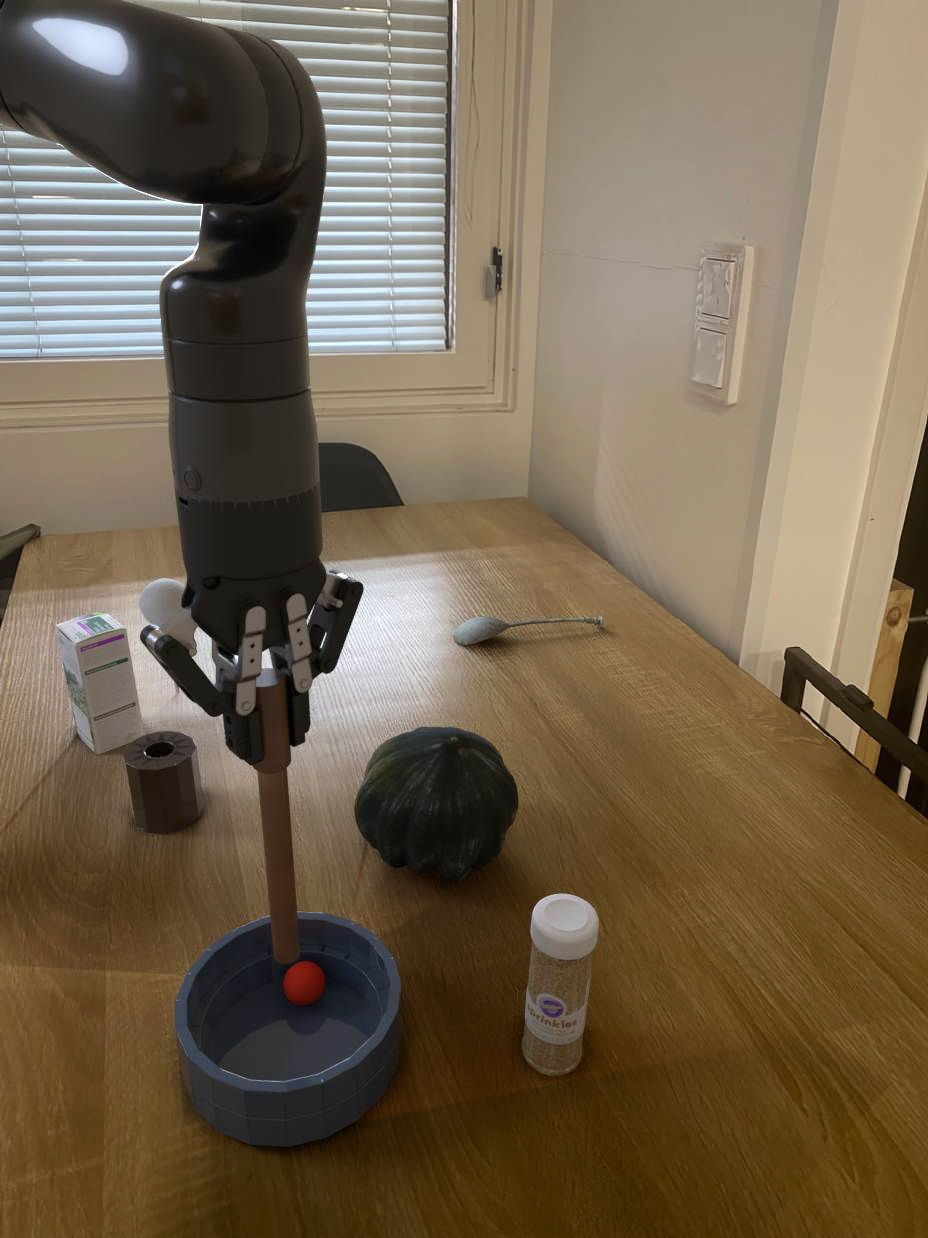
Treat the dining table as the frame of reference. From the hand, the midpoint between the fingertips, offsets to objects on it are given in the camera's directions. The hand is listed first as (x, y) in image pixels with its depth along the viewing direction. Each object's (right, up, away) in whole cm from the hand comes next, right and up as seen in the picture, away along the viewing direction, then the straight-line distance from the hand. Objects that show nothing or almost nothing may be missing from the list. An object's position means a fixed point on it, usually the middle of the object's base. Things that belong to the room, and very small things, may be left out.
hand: (269, 748), depth 55 cm
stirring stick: (0, -15, +7) cm, 17 cm away
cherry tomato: (0, -20, +14) cm, 25 cm away
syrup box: (-28, -6, +47) cm, 55 cm away
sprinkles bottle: (+18, -24, +12) cm, 33 cm away
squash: (+9, -14, +32) cm, 36 cm away
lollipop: (-24, -1, +57) cm, 62 cm away
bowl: (-1, -24, +12) cm, 27 cm away
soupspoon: (+21, +6, +74) cm, 77 cm away
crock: (-18, -12, +35) cm, 41 cm away
